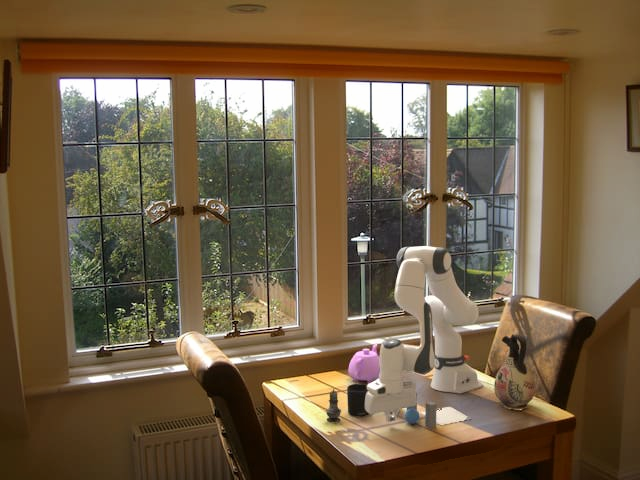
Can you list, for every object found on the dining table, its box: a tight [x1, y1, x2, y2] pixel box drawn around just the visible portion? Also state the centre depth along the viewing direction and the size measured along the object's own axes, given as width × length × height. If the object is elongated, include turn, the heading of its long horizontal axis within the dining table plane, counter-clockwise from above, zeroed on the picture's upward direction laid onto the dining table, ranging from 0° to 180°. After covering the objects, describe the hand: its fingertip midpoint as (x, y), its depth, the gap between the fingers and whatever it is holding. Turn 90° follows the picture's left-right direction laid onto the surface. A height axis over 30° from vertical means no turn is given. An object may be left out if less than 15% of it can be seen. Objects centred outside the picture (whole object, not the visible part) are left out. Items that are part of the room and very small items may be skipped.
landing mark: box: [419, 406, 468, 426], centre depth 263 cm, size 14×14×1 cm
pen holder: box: [346, 383, 370, 418], centre depth 266 cm, size 9×9×10 cm
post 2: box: [424, 401, 437, 430], centre depth 252 cm, size 3×3×9 cm
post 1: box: [406, 392, 418, 411], centre depth 264 cm, size 3×3×9 cm
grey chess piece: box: [325, 389, 342, 423], centre depth 259 cm, size 6×6×12 cm
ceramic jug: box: [493, 334, 536, 410], centre depth 270 cm, size 17×15×30 cm
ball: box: [404, 409, 421, 425], centre depth 256 cm, size 6×6×6 cm
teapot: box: [348, 343, 380, 385], centre depth 306 cm, size 22×16×14 cm
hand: (390, 421), depth 253 cm, fingers closed
